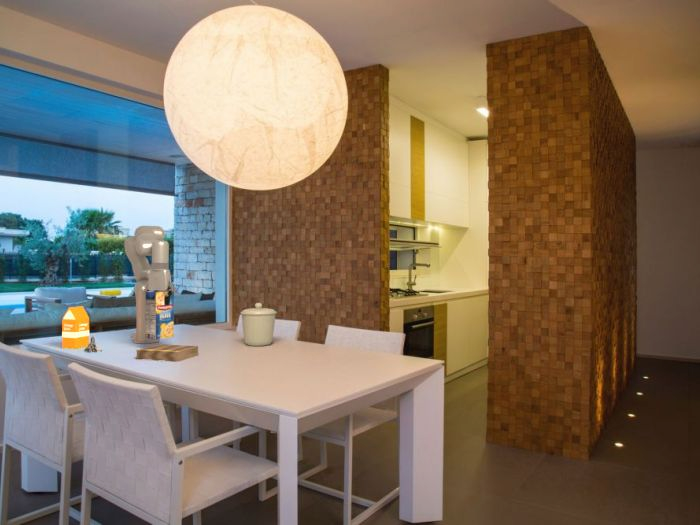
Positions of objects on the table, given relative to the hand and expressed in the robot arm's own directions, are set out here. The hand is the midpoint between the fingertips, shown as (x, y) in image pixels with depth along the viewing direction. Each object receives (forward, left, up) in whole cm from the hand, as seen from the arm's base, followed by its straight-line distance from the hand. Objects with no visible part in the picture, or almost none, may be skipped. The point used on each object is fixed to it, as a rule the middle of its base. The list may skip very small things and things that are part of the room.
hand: (159, 303), depth 258 cm
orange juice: (-40, -9, -22) cm, 46 cm away
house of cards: (-26, -18, -22) cm, 38 cm away
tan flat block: (+15, -16, -22) cm, 31 cm away
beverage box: (0, 0, -16) cm, 16 cm away
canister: (+38, +27, -22) cm, 52 cm away
